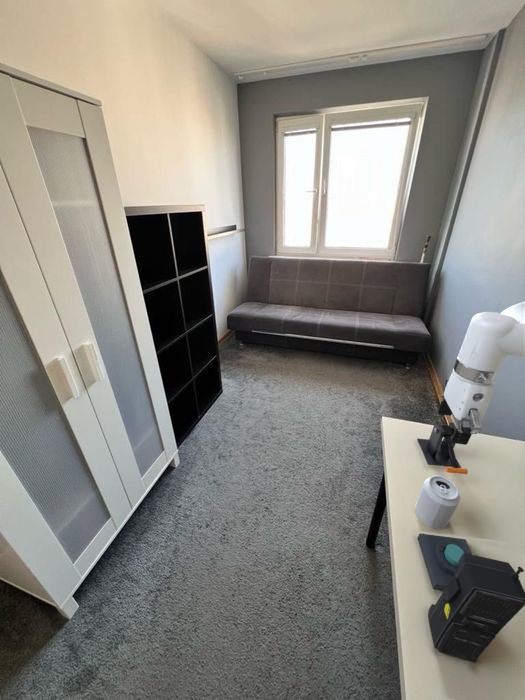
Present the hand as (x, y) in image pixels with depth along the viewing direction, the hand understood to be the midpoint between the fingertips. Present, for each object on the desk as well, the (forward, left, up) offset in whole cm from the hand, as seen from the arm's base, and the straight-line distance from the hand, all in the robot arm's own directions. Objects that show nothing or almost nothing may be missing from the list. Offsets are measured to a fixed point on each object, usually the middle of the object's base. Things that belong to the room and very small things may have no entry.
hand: (450, 427), depth 68 cm
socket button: (+3, +20, -18) cm, 27 cm away
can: (+3, +9, -22) cm, 24 cm away
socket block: (+3, +20, -22) cm, 30 cm away
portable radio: (+8, +32, -22) cm, 40 cm away
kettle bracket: (-6, -11, -22) cm, 25 cm away
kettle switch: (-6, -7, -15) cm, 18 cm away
